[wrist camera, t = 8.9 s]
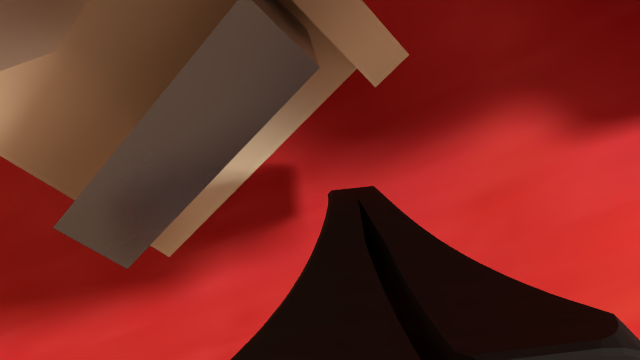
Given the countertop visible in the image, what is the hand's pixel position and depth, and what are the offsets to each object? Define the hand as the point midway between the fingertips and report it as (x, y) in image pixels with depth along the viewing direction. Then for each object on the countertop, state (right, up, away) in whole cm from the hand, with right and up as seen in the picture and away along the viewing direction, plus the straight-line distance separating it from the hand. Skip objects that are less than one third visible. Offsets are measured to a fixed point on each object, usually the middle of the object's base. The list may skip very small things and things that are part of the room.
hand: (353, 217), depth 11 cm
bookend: (-4, +4, -1) cm, 5 cm away
